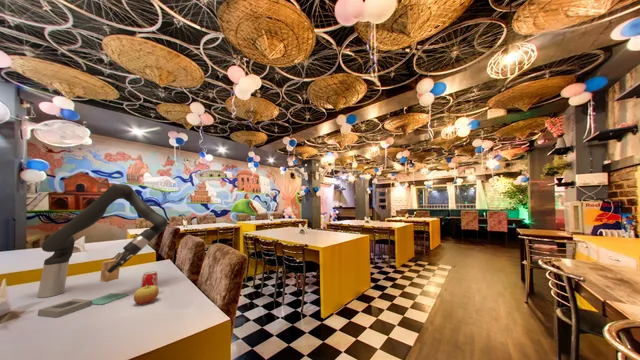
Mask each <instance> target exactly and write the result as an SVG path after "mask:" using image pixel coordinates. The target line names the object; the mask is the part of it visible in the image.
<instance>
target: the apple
mask: <svg viewBox="0 0 640 360" xmlns="http://www.w3.org/2000/svg"><path fill="white" fill-rule="evenodd" d="M159 292H160V291H159V288H158V285H157V286H145V287H142V288H141V287H139V288H138V289H137V290H136V291H135V292H134V295H133V301H134V302H135V304H137V305H147V304H150V303H151V302H154V300H156V299H157V297H158V296H159Z"/></svg>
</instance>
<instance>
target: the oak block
mask: <svg viewBox="0 0 640 360" xmlns="http://www.w3.org/2000/svg"><path fill="white" fill-rule="evenodd" d="M116 262H117V260H111V259H110V260H105V261H102V264H101V272H100V280H99V282H103V283H104V282H105V283H108V282H112V281H115V280H118V279H119V276H120V267H121V266H119V267H117V268H116V269H115V270H114V271H113V272H112V273H109V272H107V270H108V269H109V268H110V267H112V266H113V265H114V264H115V263H116Z"/></svg>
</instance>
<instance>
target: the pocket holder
mask: <svg viewBox="0 0 640 360" xmlns="http://www.w3.org/2000/svg"><path fill="white" fill-rule="evenodd" d="M92 300H93V299H82V298H81V299H80V298H71V299H69V300H66V301H63V302H59V303H56V304H52V305H49V306H47V307H44V308H40V309H38V312H37V317H45V318H46V317H47V318H62V317H63V316H66V315H69V314H72V313H75V312H77V311H79V310H80V311H81V310H83V309H85V308H89V307H92V306H93V305H92Z"/></svg>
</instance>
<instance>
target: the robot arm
mask: <svg viewBox="0 0 640 360" xmlns="http://www.w3.org/2000/svg"><path fill="white" fill-rule="evenodd" d="M119 199H121V200H122V199H123V200H124V201H126V202H128V203H130V205H131V206H132V207H133V208H134V211H135V212H136V214H138V215H139V216H140V217H141V218H143V220H145V221H147V222H150V223H151V224H153V225H152V226H150V227H149V228H146V229H144V230H143V231H142V232H141V233H140V234H138V235H137V236H135V237H134V238H133V239H132V240H131V241H129V242H128V243H126V245H124V246H123V247H122V249H123V251H122V252H120V251H119V252H118V253H117V254H116V255H115V256H113V257H112V258H111V259H110V260H117V262H116V263H115V264H114V265H113V266H112V267H110V268H109V269H108V270H107V272H109V273H112V272H113V271H114V270H115V269H116V268H117V267H119V266H120V267H122V266H124V264H126V263H127V262H128V261H130V259H131V258H133V256H136V255H137V254H138V253H140V251H142V250H143V249H144V248H145V247H147V245H148V244H149V243H150V242H151V241H152V240H153V239H155V237H157V236H158V235H160V234H161V233H162V232H164V231H165V230H166V229H167V228H168V223H169V221H168V219H167V217H165V216H163V215H162V214H160V213H158V212H157V211H156V210H154V209H153V208H152V207H151V206H150V205H149V204H147V203H146V202H145V201H144V200H143V199H142V198H141V197H140V196H139V195H138V194H137V193H136V192H135V190H134V189H133V187H131V186H130V185H128V184H122V183H114V184H112V185H109V187H108V188H106V190H105V191H104V192H103V193H102V194H101V195H100V196H99V197H98V198H97V199H96V200H94V201H93V202H92V203H90V205H88V206H86V208H84V209H83V210H81V212H79V213H78V214H77V215H76V216H75V217H74V218H72V219H71V220H70V221H69V222H67V223H66V224H65V225H64V226H62V227H61V228H59V229H58V230H57V231H55V232H54V233H52V234H51V235H49V236H48V237H47V238H46V239H44V241H43V242H42V243H41V250H42V251H43V252H46V253H53V254H52V255H50V256H49V257H47V258H45V260H44V262H43V267H42V271H41V272H42V273H41V277H40V282H39V287H38V292H37V297H38V298H41V299H43V298H48V297H49V298H50V297H54V296H58V295H61V294H63V293H64V292H65V290H66V284H67V277H68V272H69V271H68V269H69V264H70V259H71V257H72V255H73V253H74V247H75V243H76V242H75V241H76V240H75V237H74V236H75V235H76V234H78V233H80V232H82V231H84V230H86V229H89V228H90V227H92V226H94V225H95V224H96V223H97V222H99V220H101V219H102V218H103V217H104V215H105V214H106V212H107V210H108V207H109V206H111V205H112V204H113V203H114V202H116V201H117V200H119Z"/></svg>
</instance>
